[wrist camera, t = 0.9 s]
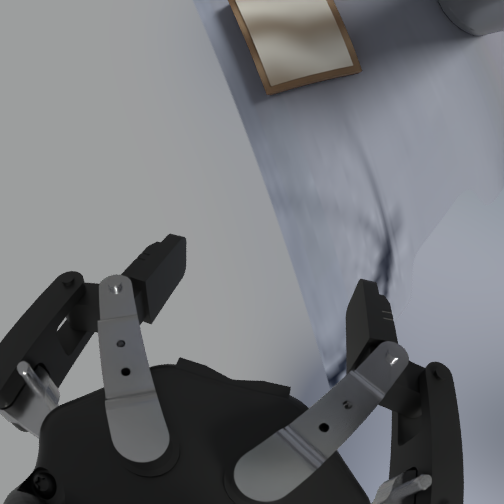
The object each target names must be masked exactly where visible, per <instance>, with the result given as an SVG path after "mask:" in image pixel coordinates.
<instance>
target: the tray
mask: <svg viewBox="0 0 504 504" xmlns="http://www.w3.org/2000/svg"><path fill="white" fill-rule="evenodd" d="M228 2H229V4H230V6H231V8H232V10H233V13H234V15H235V17H236V19H237V22H238V24H239V26H240V29H241V31H242V33H243V36H244V38H245V40H246V43H247V45H248V48H249V50H250V53H251V55H252V58H253V60H254V63H255V65H256V68H257V70H258V73H259V75H260V78H261V81H262V83H263V86H264V88H265V91H266V94H267V95H274V94H277V93H280V92H283V91H287V90H290V89H294V88H297V87H301V86H305V85H309V84H313V83H317V82H321V81H325V80H329V79H333V78H338V77H343V76H347V75H352V74H357V73H360V72H361V71H362V69H361V66H360V63H359V61H358V58H357V55H356V53H355V50H354V47H353V45H352V42H351V40H350V37H349V35H348V32H347V30H346V28H345V25H344V23H343V21H342V18H341V16H340V14H339V12H338V10H337V7H336V5H335V3H334V1H333V0H228Z"/></svg>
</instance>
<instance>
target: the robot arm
mask: <svg viewBox="0 0 504 504" xmlns="http://www.w3.org/2000/svg"><path fill="white" fill-rule="evenodd" d="M438 1H439V3H440V6H441V7H442V9H443V11H444V12H445V14H446V15H447V16H448V18H449V19H450V20H451V21H452V22H453V23H454V24H455V25H457V26H458V27H459V28H460V29H462V30H464V31H465V32H467V33H470V34H472V35H476V36H483V35H487V34H491V33H495V32H500V31H504V0H438ZM185 269H186V238H185V237H181V236H177V235H173V234H169V235H168V236H167V237H166V238H165V239H164V240H163V241H162V242H156V243H154V244H152V245H150V246H148V247H147V248H146V249H145V250H144V251H143V252H142V254H140V255H139V256H138V258H137V259H135V260H134V261H133V263H132V264H131V265H130V266H129V267H128V268H127V269H126V270H125V271H124V272H123V273H122V274H121V275H112V276H109V277H106V278H105V279H104V280H102V281H101V283H100V284H95V283H84V279H83V276H82V275H81V274H80V273H78V272H73V271H70V272H66V273H63V274H61V275H60V276H58V277H57V278H56V279H55V281H53V283H52V284H51V285H50V286H49V287H48V288H47V289H46V290H45V291H44V292H43V293H42V294H41V295H40V296H39V298H38V299H37V300H36V301H35V302H34V303H33V304H32V305H31V307H30V308H29V309H28V310H27V311H26V312H25V313H24V314H23V316H22V317H21V318H20V319H19V320H18V322H17V323H16V324H15V325H14V327H12V329H11V330H10V331H9V332H8V334H7V335H6V336H5V337H4V339H3V340H2V341H1V343H0V414H1V415H2V416H3V417H4V418H5V419H7V420H8V421H9V422H11V423H12V424H13V425H14V426H15V427H17V428H18V429H19V430H21V431H24V432H30V433H31V434H33V435H34V436H36V437H37V438H39V453H38V459H37V463H36V466H35V469H34V471H33V473H32V474H31V475H30V476H29V477H28V478H27V479H26V480H25V481H24V482H23V483H22V484H20V485H19V486H18V487H17V488H15V490H13V491H12V492H11V493H10V494H9V495H8V496H7V498H6V500H5V502H4V504H371V503H370V501H369V498H368V496H367V495H366V493H365V492H364V490H363V489H362V487H361V486H360V484H359V483H358V481H357V480H356V478H355V477H354V475H353V474H352V472H351V471H350V469H349V468H348V466H347V465H346V464H345V462H344V461H343V459H342V457H341V456H340V454H339V453H338V451H337V449H338V448H339V447H340V446H341V445H342V444H343V443H344V442H345V441H346V440H347V439H348V438H349V437H350V436H351V435H352V434H353V432H354V431H355V430H356V429H357V428H358V427H359V426H360V425H361V424H362V423H363V421H364V420H365V419H366V418H367V417H368V416H369V415H370V413H371V412H372V411H373V410H374V409H375V408H376V406H377V405H380V406H383V407H386V408H388V409H390V410H392V440H391V460H390V472H389V480H387V481H386V482H384V483H383V484H382V485H381V486H380V487H379V489H378V491H377V494H376V497H375V499H374V501H373V502H372V504H463V493H464V491H463V490H464V479H463V478H464V476H463V452H462V440H461V429H460V421H459V413H458V406H457V399H456V393H455V387H454V382H453V377H452V374H451V372H450V370H449V369H448V368H447V367H446V366H445V365H443V364H442V363H439V362H431V363H429V364H428V365H427V367H426V368H424V367H421V366H419V365H417V364H415V363H412V362H411V361H409V357H408V354H407V352H406V350H405V349H404V348H403V347H402V346H400V345H399V344H398V341H397V336H396V330H395V325H394V321H393V315H392V311H391V306H390V303H389V302H388V300H387V299H386V297H385V296H384V295H380V294H379V291H378V287H377V283H376V282H373V281H368V280H364V279H360V280H359V282H358V284H357V286H356V289H355V291H354V293H353V296H352V298H351V300H350V302H349V305H348V308H347V312H346V348H347V375H346V376H345V377H344V378H343V379H342V380H341V381H340V382H339V383H337V384H336V385H335V386H334V387H333V388H332V389H331V390H330V391H329V392H328V393H326V394H325V395H324V396H323V397H322V398H321V399H320V400H318V401H317V402H316V403H315V404H314V405H313V406H312V407H310V408H308V407H307V406H306V405H304V404H303V403H302V402H301V401H299V400H298V399H296V398H294V397H292V396H290V395H289V394H290V387H287V386H283V385H278V384H274V383H269V382H265V381H245V380H232V379H230V378H227V377H226V376H224V375H222V374H220V373H218V372H216V371H215V370H213V369H211V368H209V367H207V366H205V365H202V364H199V363H196V362H192V361H189V360H186V359H183V358H179V360H178V362H177V364H176V365H174V364H164V365H157V366H153V367H149V364H148V360H147V356H146V352H145V348H144V344H143V339H142V335H141V330H140V324H141V323H142V322H143V321H144V322H147V323H149V324H152V322H153V321H154V319H155V318H156V316H157V315H158V313H159V312H160V310H161V309H162V307H163V306H164V304H165V303H166V301H167V300H168V298H169V297H170V295H171V294H172V292H173V291H174V289H175V288H176V286H177V285H178V284H179V282H180V281H181V279H182V278H183V276H184V273H185ZM65 317H66V318H67V320H66V321H65V322H64V324H63V325H62V326H61V328H60V329H59V330H58V331H57V329H58V326H59V325H60V324H61V322H62V321H63V320H64V318H65ZM94 332H98V336H99V348H100V358H101V366H102V375H103V382H104V388H101V389H99V390H97V391H94V392H92V393H89V394H87V395H85V396H82V397H80V398H77V399H75V400H72V401H70V402H67V403H65V404H62V405H60V406H58V402H59V397H60V394H59V391H58V388H59V386H60V385H61V383H62V381H63V380H64V378H65V376H66V375H67V373H68V372H69V370H70V368H71V367H72V365H73V364H74V362H75V361H76V359H77V358H78V356H79V355H80V353H81V352H82V350H83V348H84V347H85V345H86V344H87V342H88V341H89V340H90V338H91V336H92V335H93V334H94Z"/></svg>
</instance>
